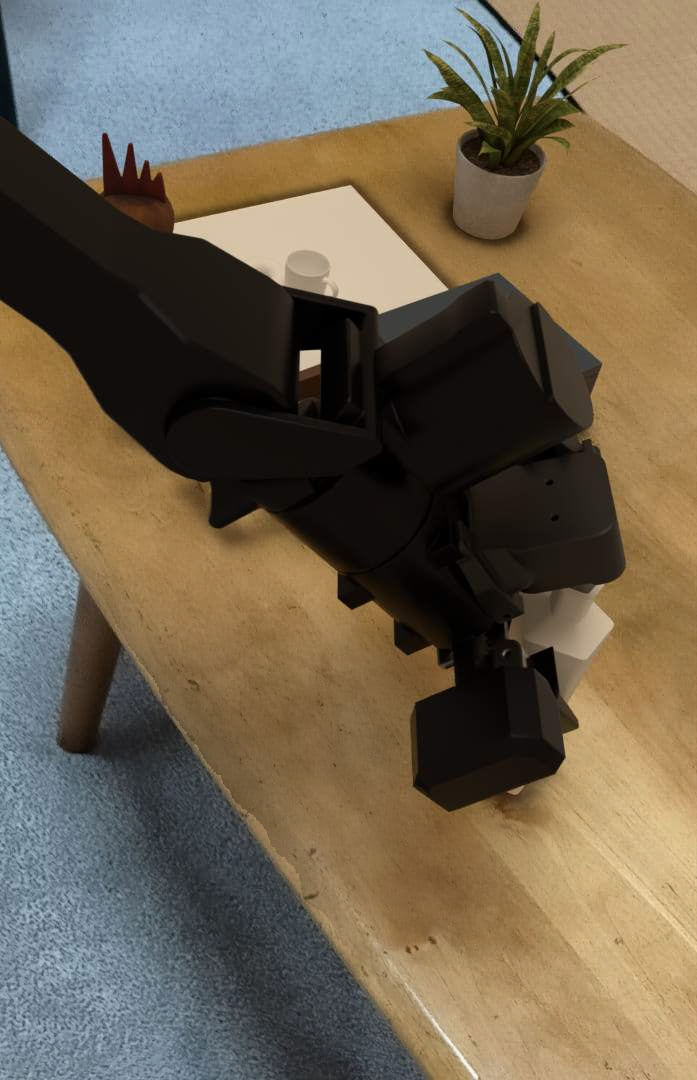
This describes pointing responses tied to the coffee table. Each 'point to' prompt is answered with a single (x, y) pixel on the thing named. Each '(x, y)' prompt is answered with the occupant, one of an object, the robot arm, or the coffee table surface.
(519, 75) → the house plant
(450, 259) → the coffee table surface
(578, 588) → the white pentagonal vase
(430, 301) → the cabinet
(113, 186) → the wooden figurine
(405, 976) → the coffee table surface
